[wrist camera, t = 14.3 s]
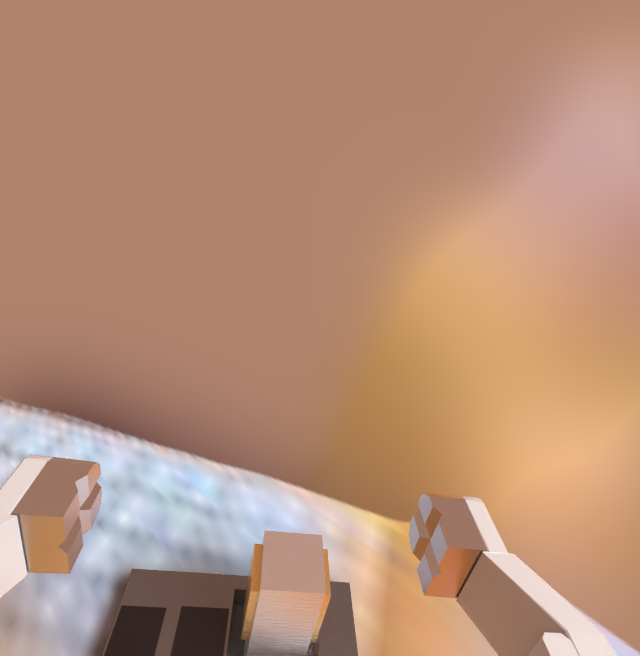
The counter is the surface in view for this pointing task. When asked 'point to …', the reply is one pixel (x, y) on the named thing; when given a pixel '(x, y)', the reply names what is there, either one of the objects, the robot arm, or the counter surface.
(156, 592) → the rail
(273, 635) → the brushed metal pillar
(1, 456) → the counter surface
